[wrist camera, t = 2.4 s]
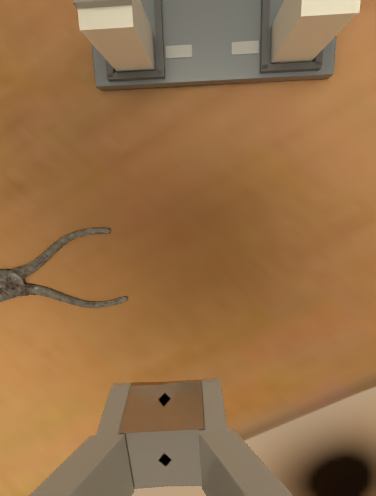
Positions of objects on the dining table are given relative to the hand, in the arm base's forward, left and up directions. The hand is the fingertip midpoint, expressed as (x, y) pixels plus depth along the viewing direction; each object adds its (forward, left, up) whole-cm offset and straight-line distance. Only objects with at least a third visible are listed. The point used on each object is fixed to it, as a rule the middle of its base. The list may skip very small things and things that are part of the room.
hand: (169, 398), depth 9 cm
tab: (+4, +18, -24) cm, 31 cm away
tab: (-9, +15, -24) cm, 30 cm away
